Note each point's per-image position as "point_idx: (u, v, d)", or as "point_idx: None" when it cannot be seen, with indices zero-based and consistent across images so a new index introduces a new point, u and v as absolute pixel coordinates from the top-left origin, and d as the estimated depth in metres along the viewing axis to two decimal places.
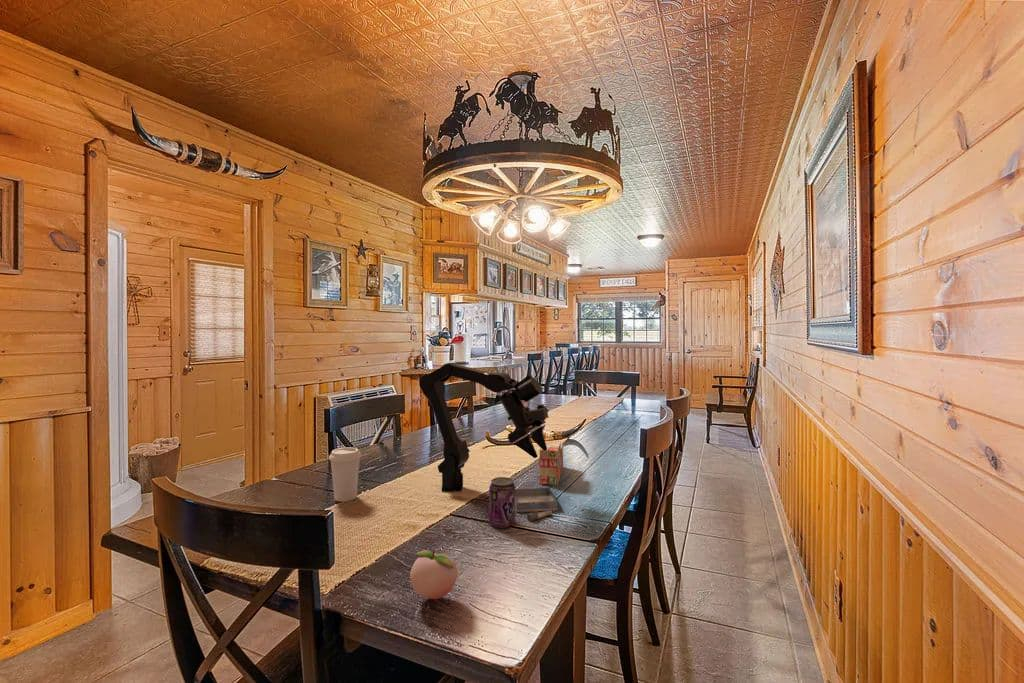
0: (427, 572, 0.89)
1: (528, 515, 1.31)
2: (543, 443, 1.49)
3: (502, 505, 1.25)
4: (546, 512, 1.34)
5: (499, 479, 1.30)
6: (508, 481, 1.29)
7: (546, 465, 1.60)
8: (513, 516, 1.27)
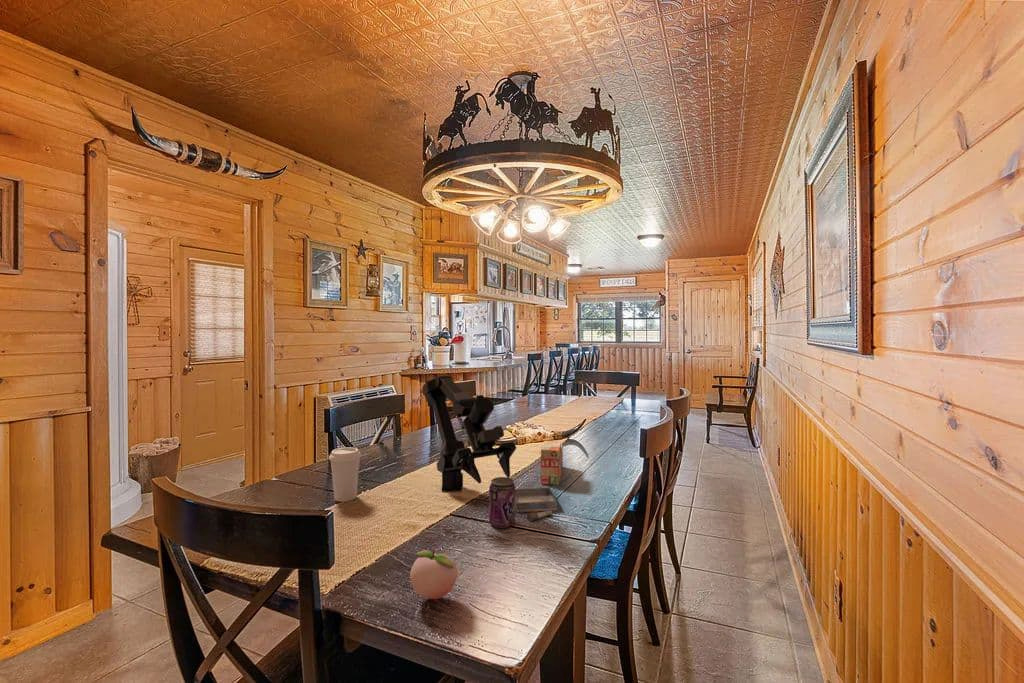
0: (427, 572, 0.89)
1: (528, 515, 1.31)
2: (506, 469, 1.35)
3: (502, 505, 1.25)
4: (546, 512, 1.34)
5: (499, 479, 1.30)
6: (508, 481, 1.29)
7: (548, 465, 1.61)
8: (513, 516, 1.27)
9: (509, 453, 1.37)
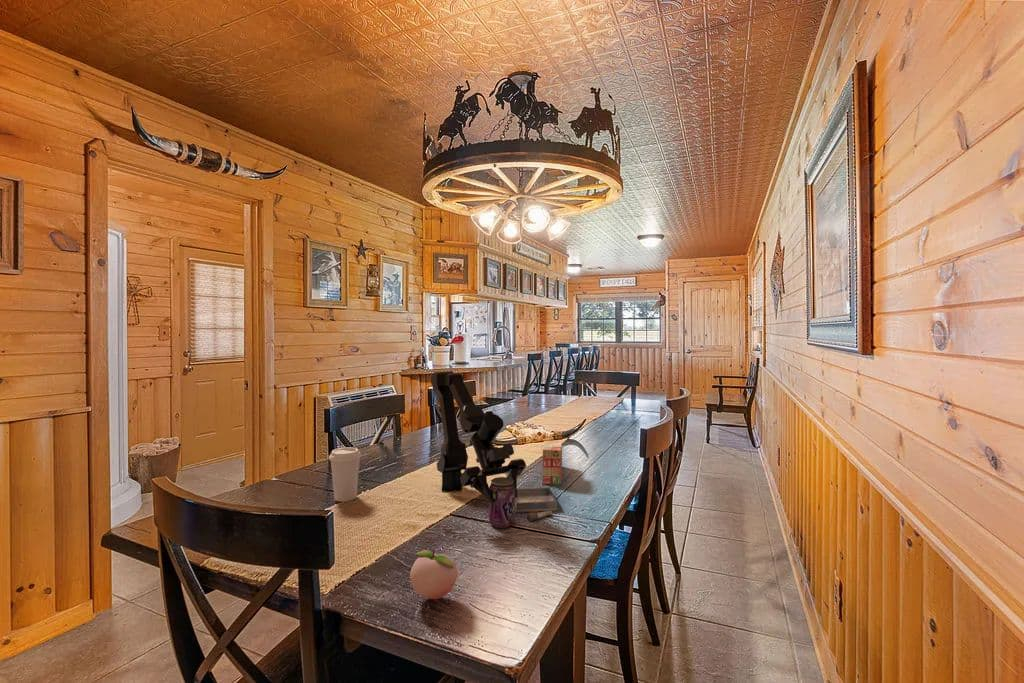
0: (427, 572, 0.89)
1: (528, 515, 1.31)
2: None
3: (502, 504, 1.25)
4: (546, 512, 1.34)
5: (499, 479, 1.30)
6: (508, 481, 1.29)
7: (550, 465, 1.61)
8: (513, 516, 1.27)
9: (516, 472, 1.32)
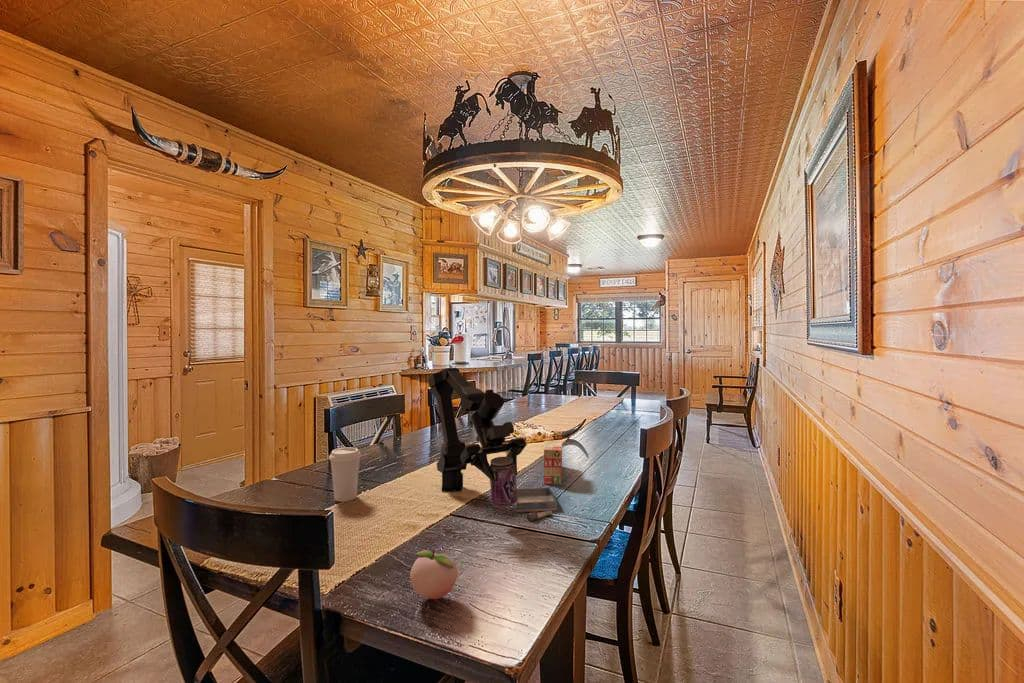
0: (427, 572, 0.89)
1: (528, 515, 1.31)
2: None
3: (503, 484, 1.25)
4: (546, 512, 1.34)
5: (498, 459, 1.30)
6: (507, 460, 1.28)
7: (551, 465, 1.61)
8: (515, 494, 1.27)
9: (516, 450, 1.32)
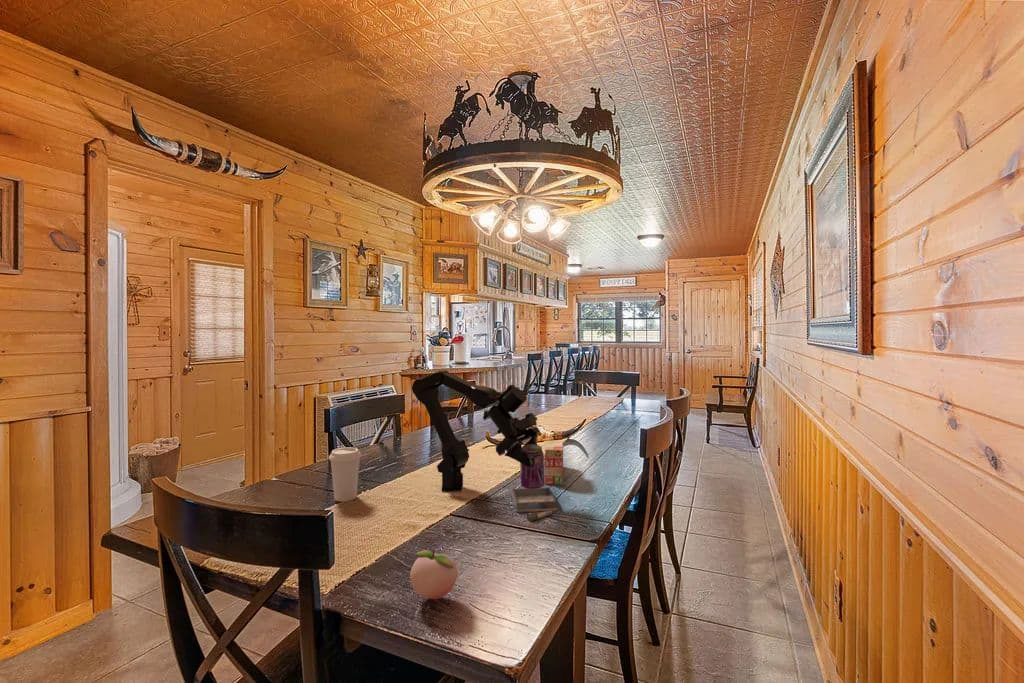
0: (427, 572, 0.89)
1: (528, 515, 1.31)
2: None
3: (538, 468, 1.39)
4: (546, 512, 1.34)
5: (526, 447, 1.42)
6: (535, 447, 1.42)
7: (552, 465, 1.61)
8: None
9: (536, 438, 1.47)
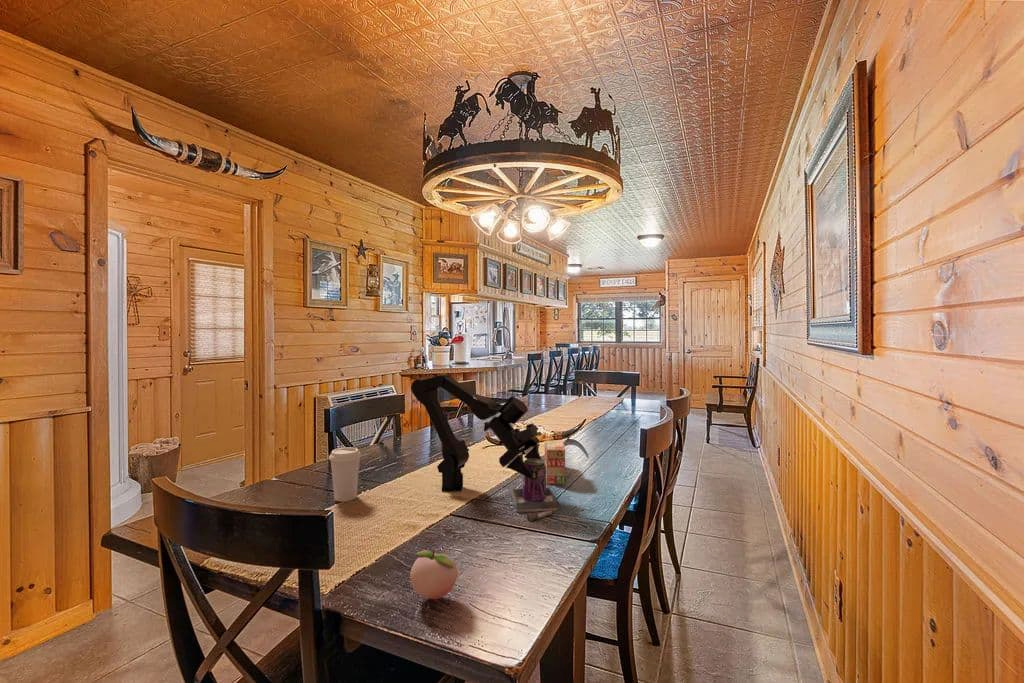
0: (427, 572, 0.89)
1: (528, 515, 1.31)
2: None
3: (541, 481, 1.42)
4: (546, 512, 1.34)
5: (528, 461, 1.45)
6: (538, 461, 1.46)
7: (554, 465, 1.61)
8: None
9: (538, 447, 1.50)
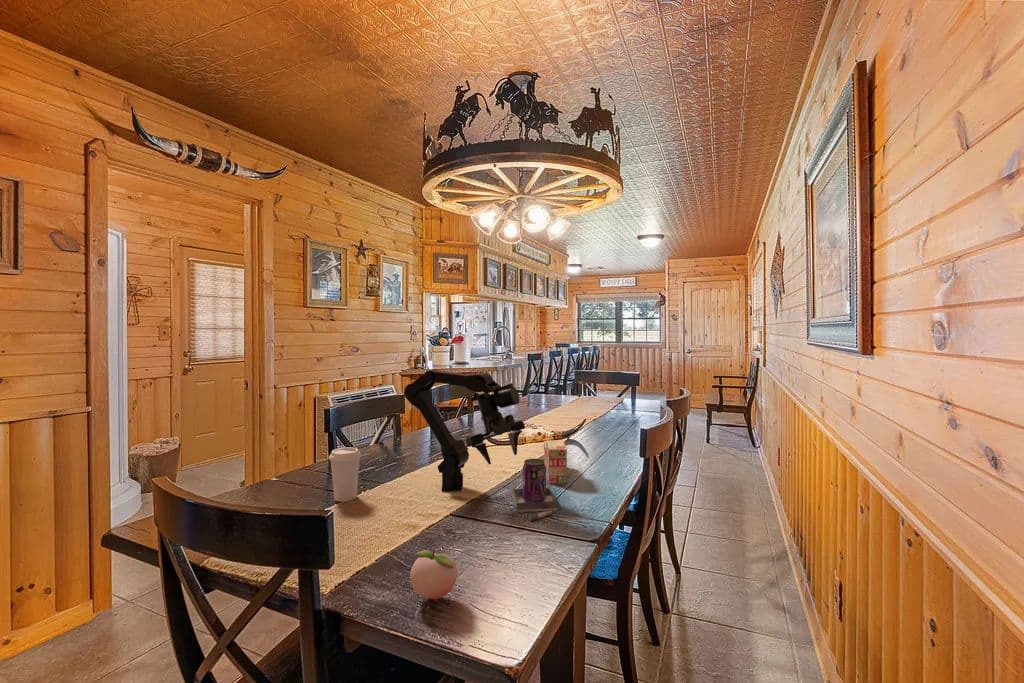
0: (427, 572, 0.89)
1: (528, 515, 1.31)
2: (514, 448, 1.51)
3: (541, 481, 1.42)
4: (546, 512, 1.34)
5: (528, 461, 1.45)
6: (537, 461, 1.46)
7: (556, 465, 1.61)
8: None
9: (518, 434, 1.50)
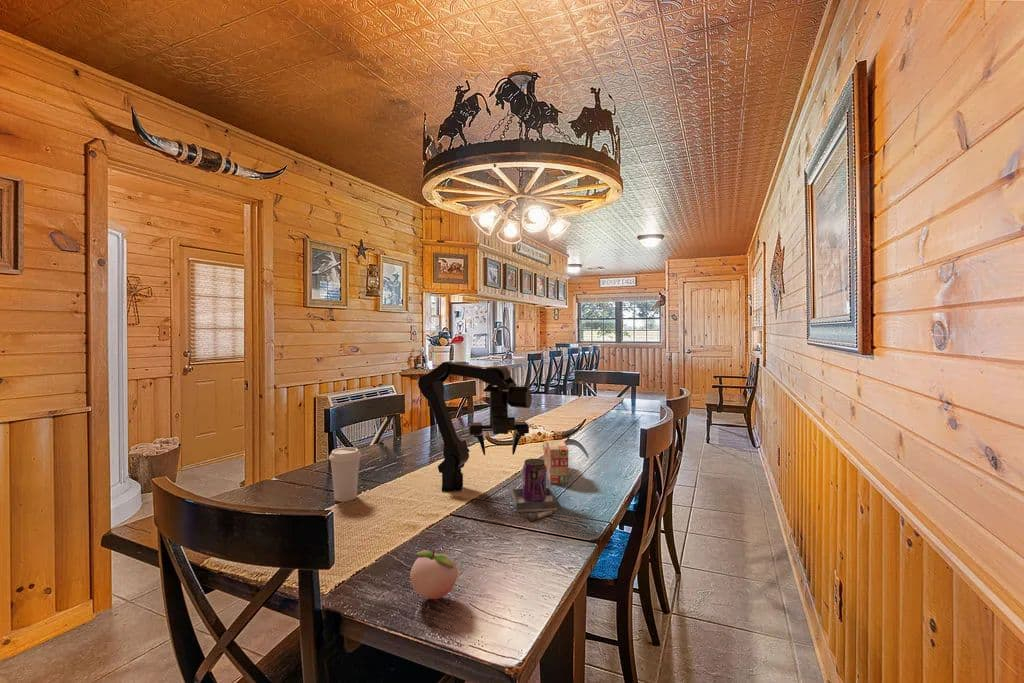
0: (427, 572, 0.89)
1: (528, 515, 1.31)
2: (512, 448, 1.50)
3: (541, 481, 1.42)
4: (546, 512, 1.34)
5: (529, 461, 1.45)
6: (538, 461, 1.46)
7: (557, 465, 1.61)
8: None
9: (519, 437, 1.48)
